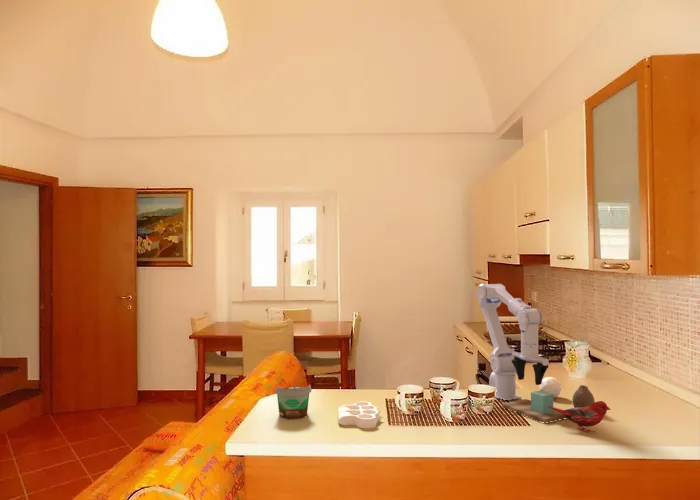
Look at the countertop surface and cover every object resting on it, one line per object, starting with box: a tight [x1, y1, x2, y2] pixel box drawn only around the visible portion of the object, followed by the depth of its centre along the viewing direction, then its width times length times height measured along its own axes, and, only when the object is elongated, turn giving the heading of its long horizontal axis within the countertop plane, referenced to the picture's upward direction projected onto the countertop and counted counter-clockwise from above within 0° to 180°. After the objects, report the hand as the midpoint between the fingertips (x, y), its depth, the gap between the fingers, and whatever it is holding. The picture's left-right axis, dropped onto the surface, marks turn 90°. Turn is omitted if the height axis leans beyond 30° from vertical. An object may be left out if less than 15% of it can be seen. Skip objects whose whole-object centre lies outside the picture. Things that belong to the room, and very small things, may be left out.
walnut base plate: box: [501, 399, 566, 424], centre depth 167 cm, size 18×12×5 cm, turn 29°
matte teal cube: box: [530, 389, 554, 414], centre depth 165 cm, size 5×5×6 cm
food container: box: [274, 383, 312, 420], centre depth 162 cm, size 12×6×10 cm, turn 105°
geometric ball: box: [538, 376, 562, 399], centre depth 186 cm, size 8×8×8 cm
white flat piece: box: [337, 401, 384, 429], centre depth 161 cm, size 3×18×15 cm
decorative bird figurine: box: [548, 400, 611, 433], centre depth 151 cm, size 3×18×10 cm, turn 61°
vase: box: [572, 384, 596, 408], centre depth 169 cm, size 7×7×9 cm
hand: (529, 381), depth 172 cm, fingers open, 7 cm apart
